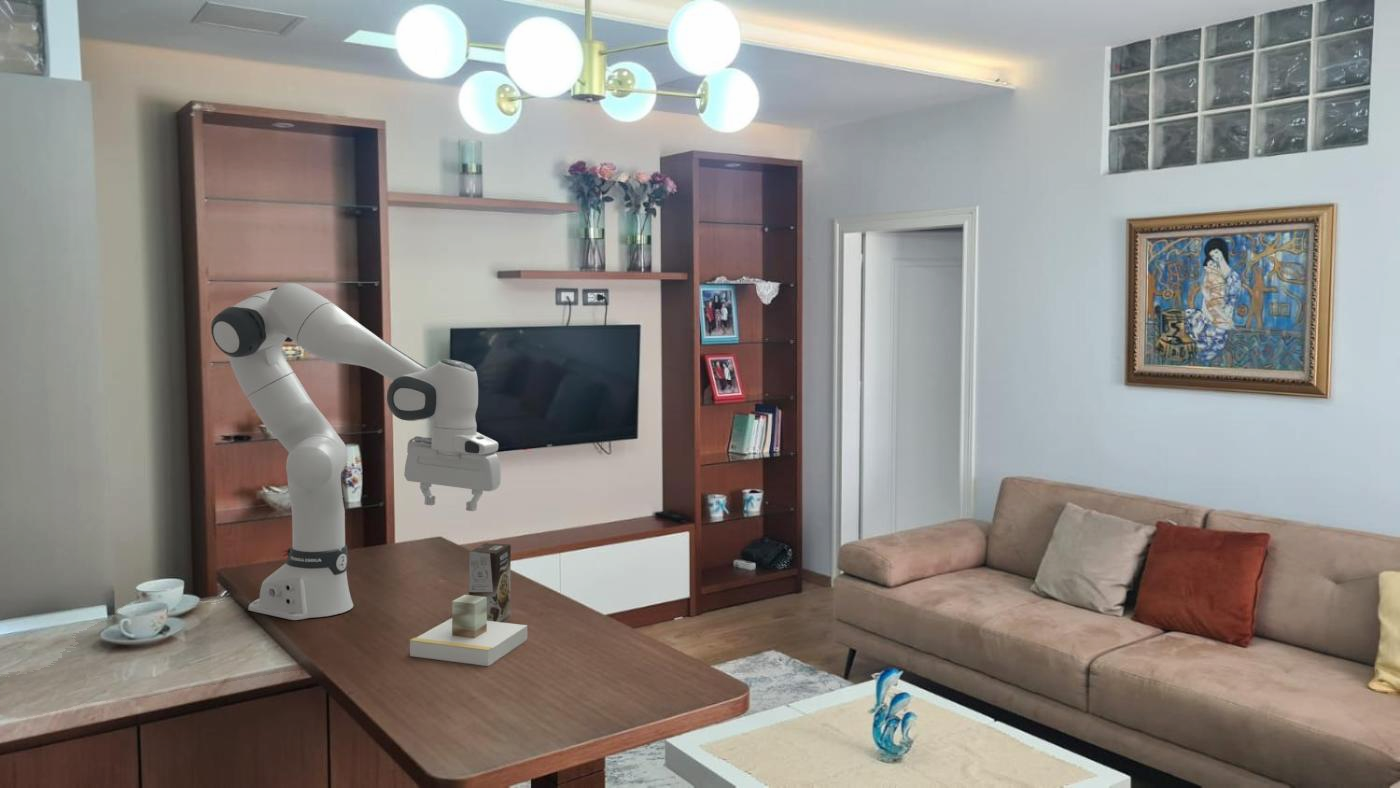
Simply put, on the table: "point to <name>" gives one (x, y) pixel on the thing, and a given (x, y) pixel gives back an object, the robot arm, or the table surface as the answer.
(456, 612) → the pale green block
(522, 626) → the block
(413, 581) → the table surface
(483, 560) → the coffee box
